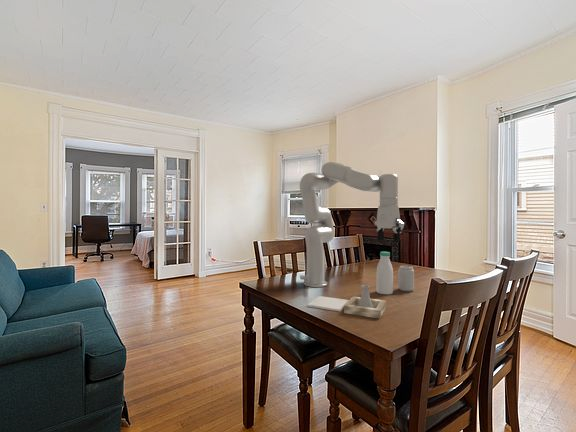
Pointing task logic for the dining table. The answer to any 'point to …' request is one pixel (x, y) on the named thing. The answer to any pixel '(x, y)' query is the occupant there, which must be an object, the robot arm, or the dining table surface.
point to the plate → (328, 303)
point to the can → (406, 278)
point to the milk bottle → (384, 274)
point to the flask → (365, 297)
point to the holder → (365, 308)
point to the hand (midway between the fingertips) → (388, 241)
